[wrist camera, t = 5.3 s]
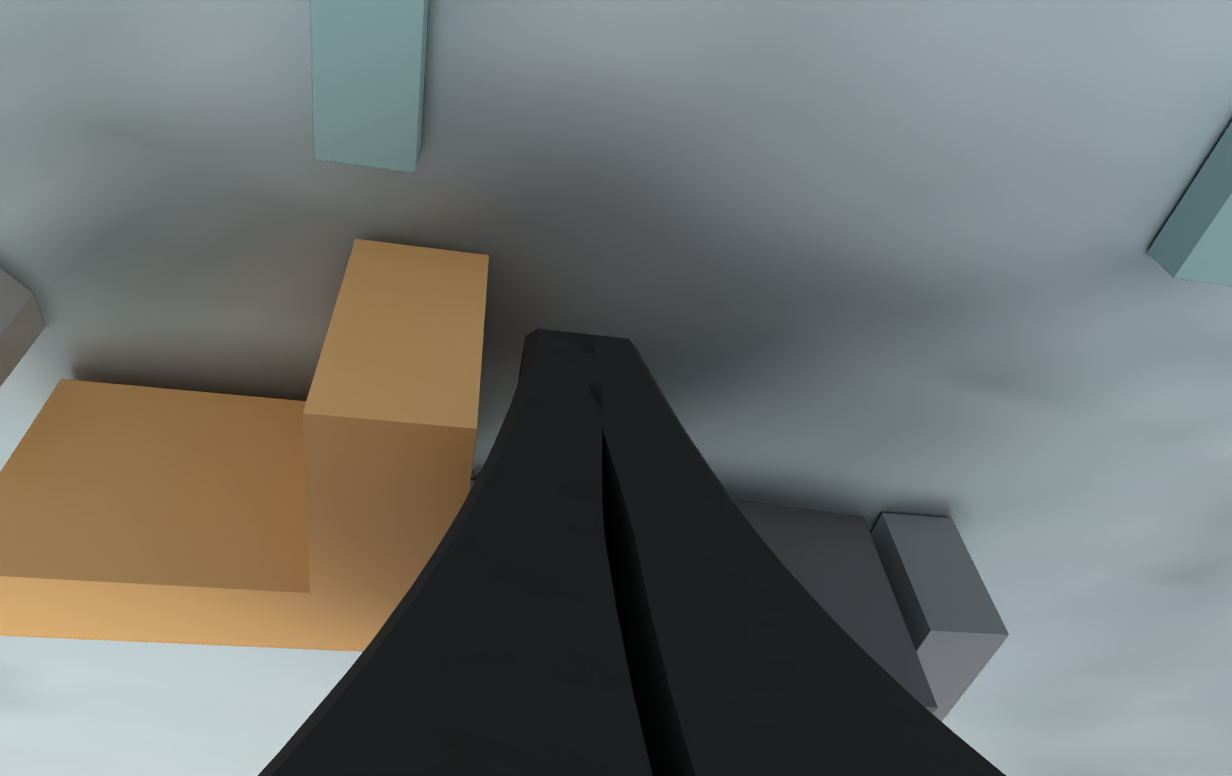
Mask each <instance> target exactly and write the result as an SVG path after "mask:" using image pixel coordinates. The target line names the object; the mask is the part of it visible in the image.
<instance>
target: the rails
mask: <svg viewBox="0 0 1232 776" xmlns="http://www.w3.org/2000/svg"><path fill="white" fill-rule="evenodd" d="M428 6H429V0H310V12H311V52H312V93H313V133H314V159H315V160H323V161H330V162H337V163H344V164H352V165H359V166H366V167H373V168H381V169H388V170H395V171H402V172H410V173H415V171H416V167H417V163H418V158H419V154H420V149H421V133H422V115H423V97H424V78H425V60H426V42H427V24H428ZM1147 253H1148V254H1149V255H1150V256H1151V257H1152V258H1153V259H1154V260H1155V261H1157V262H1158V263H1159V264H1160V265H1161V266H1162V267H1163V268H1164V269H1165V270H1166V271H1167V272H1168V273H1169V274H1170V275H1171V276H1172V277H1173V278H1177V279H1184V280H1191V281H1199V282H1206V283H1213V284H1220V285H1228V286H1232V122H1231V123H1230V125H1229V127H1228V128H1227V130H1226V131H1225V133H1224V134H1223V136H1222V137H1221V139H1220V140H1219V142H1218V144H1217V145H1216V147H1215V148H1214V150H1213V151H1212V153H1211V154H1210V156H1209V157H1208V159H1207V161H1206V162H1205V164H1204V165H1203V167H1202V168H1201V170H1200V171H1199V173H1198V174H1197V176H1196V178H1195V179H1194V181H1193V182H1192V184H1191V185H1190V187H1189V188H1188V190H1187V191H1186V193H1185V195H1184V196H1183V198H1182V199H1181V201H1180V202H1179V204H1178V205H1177V207H1176V209H1175V210H1174V212H1173V213H1172V215H1171V216H1170V218H1169V219H1168V221H1167V222H1166V224H1165V226H1164V227H1163V229H1162V230H1161V232H1160V233H1159V235H1158V236H1157V238H1156V239H1155V241H1154V243H1153V244H1152V246H1151V247H1150V249H1149V250H1148V252H1147Z"/></svg>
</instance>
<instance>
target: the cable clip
mask: <svg viewBox="0 0 1232 776" xmlns="http://www.w3.org/2000/svg"><path fill="white" fill-rule="evenodd" d="M474 482H475V480H471V482H470V490H471V488H472V486H473V484H474ZM470 490H469V492H470ZM871 537H872V539H873V542H874V545H875V547H876V550H877V552H878V555H879V557H880V560H881V563H882V565H883V568H884V570H885V573H886V575H887V578H888V581H889V583H890V586H891V588H892V591H893V593H894V596H895V599H896V601H897V604H898V606H899V609H900V611H901V614H902V616H903V619H904V622H905V624H906V627H907V629H908V632H909V634H910V637H911V640H912V642H913V645H914V647H915V650H916V652H917V655H918V658H919V660H920V663H921V665H922V668H923V670H924V673H925V676H926V678H927V681H928V683H929V686H930V688H931V691H932V694H933V696H934V699H935V701H936V704H937V706H938V708H937V709H936V710H935V712H934V713H933V715H934V716H935V717H937V718H938V719H939V720H940V721H941V722H942V721H943V719H944V718H945V717H946V715H947V714H948V713H949V712H950V710H951V709H952V708H953V706H954V705H955V704H956V702H957V701H958V700H959V699H960V697H961V696H962V695H963V693H964V692H965V691H966V690H967V688H968V687H969V686H970V684H971V683H972V682H973V680H974V679H975V678H976V677H977V675H978V674H979V673H980V671H981V670H982V669H983V668H984V666H985V665H986V664H987V662H988V661H989V660H990V659H991V657H992V656H993V655H994V653H995V652H996V651H997V649H998V648H999V647H1000V646H1001V644H1002V643H1003V642H1004V640H1005V639H1006V638H1007V637H1008V635H1009V634H1008V632H1007V630H1006V628H1005V626H1004V624H1003V622H1002V620H1001V618H1000V616H999V614H998V612H997V610H996V608H995V606H994V604H993V602H992V600H991V597H990V595H989V593H988V591H987V589H986V587H985V585H984V583H983V581H982V579H981V577H980V575H979V573H978V571H977V569H976V567H975V565H974V563H973V561H972V559H971V557H970V555H969V553H968V551H967V549H966V547H965V545H964V543H963V540H962V538H961V536H960V534H959V532H958V530H957V528H956V526H955V524H954V522H953V520H952V518H944V517H931V516H918V515H906V514H893V513H882V514H881V516H880V517H879V519H878V521H877V523H876V525H875V527H874V528H873V530H872V532H871Z"/></svg>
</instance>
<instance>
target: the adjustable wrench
mask: <svg viewBox="0 0 1232 776" xmlns="http://www.w3.org/2000/svg"><path fill="white" fill-rule="evenodd" d="M44 328H45V323H44V320H43V318H42V315H41V312H40V309H39V307H38V304H37V301H36V298H35V296H34V293H33V292H31V291H30V290H29V289H27V288H26V287H25V286H24V285H22V284H21V283H20V282H18V281H17V280H16V279H14V278H13V277H12V276H11V275H9V274H8V273H7V272H5V271H4V270H3V269H1V268H0V387H1V385H2V384H3V383H4V381H5V380H6V379H7V377H8V376H9V375H10V373H11V372H12V371H13V369H14V368H15V367H16V365H17V364H18V363H19V361H20V360H21V359H22V357H23V356H24V355H25V353H26V352H27V351H28V349H29V348H30V347H31V345H32V344H33V343H34V341H35V340H36V339H37V337H38V336H39V335H40V333H41V332H42V331H43V329H44Z"/></svg>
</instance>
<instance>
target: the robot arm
mask: <svg viewBox="0 0 1232 776" xmlns="http://www.w3.org/2000/svg"><path fill="white" fill-rule="evenodd" d="M258 776H1006V775H1004V774H1003V773H1002V772H1001V771H1000V770H998V769H997V768H996V767H995V766H994V765H992V764H991V763H990V762H989V761H988V760H986V759H985V758H984V757H983V756H981V755H980V754H979V753H978V752H977V751H975V750H974V749H973V748H972V747H971V746H969V745H968V744H967V743H966V742H965V741H963V740H962V739H961V738H960V737H958V736H957V735H956V734H955V733H954V732H953V731H951V730H950V729H949V728H948V727H947V726H946V725H945V724H943V723H942V722H941V721H940V720H939V719H938V718H937V717H935V716H934V715H933V714H932V713H931V712H930V711H929V710H927V709H926V708H925V707H924V706H923V705H922V704H921V703H920V702H918V701H917V700H916V699H915V698H914V697H913V696H912V695H911V694H910V693H909V692H908V691H907V690H905V689H904V688H903V687H902V686H901V685H900V684H899V683H898V682H897V681H896V680H895V679H894V678H893V677H892V676H891V675H890V674H889V673H888V672H886V671H885V670H884V669H883V668H882V667H881V666H880V665H879V664H878V663H877V662H876V661H875V660H874V659H873V658H872V657H871V656H870V655H869V654H867V653H866V652H865V651H864V650H863V649H862V648H861V647H860V646H859V645H858V644H857V643H856V642H855V641H854V640H853V639H852V638H851V637H850V636H849V635H848V634H847V633H846V632H845V631H844V630H843V629H842V628H841V627H840V626H839V625H838V624H837V623H836V622H835V621H834V620H833V619H832V618H831V617H830V616H829V615H828V613H827V612H826V611H825V610H824V609H823V608H822V607H821V606H820V605H819V604H818V602H817V601H816V600H815V599H814V598H813V597H812V596H811V595H810V594H809V593H808V591H807V590H806V589H805V588H804V587H803V586H802V585H801V584H800V583H799V581H798V580H797V579H796V578H795V577H794V576H793V575H792V574H791V573H790V572H789V570H788V569H787V568H786V567H785V566H784V565H783V563H782V562H781V561H780V560H779V559H778V557H777V556H776V555H775V554H774V552H773V551H772V550H771V549H770V548H769V546H768V545H767V544H766V543H765V541H764V540H763V539H762V538H761V536H760V535H759V534H758V532H757V531H756V530H755V528H754V527H753V526H752V525H751V523H750V522H749V521H748V519H747V518H746V517H745V515H744V514H743V513H742V512H741V510H740V509H739V508H738V506H737V505H736V504H735V502H734V501H733V499H732V498H731V497H730V495H729V494H728V493H727V491H726V490H725V488H724V487H723V486H722V484H721V483H720V481H719V480H718V479H717V477H716V476H715V474H714V473H713V471H712V470H711V468H710V467H709V465H708V464H707V462H706V461H705V459H704V458H703V456H702V455H701V453H700V452H699V450H698V449H697V448H696V446H695V445H694V443H693V442H692V440H691V439H690V437H689V435H688V434H687V432H686V431H685V429H684V428H683V426H682V425H681V423H680V421H679V420H678V418H677V417H676V415H675V413H674V412H673V410H672V408H671V407H670V405H669V403H668V402H667V400H666V399H665V397H664V395H663V393H662V392H661V390H660V388H659V387H658V385H657V383H656V382H655V380H654V378H653V376H652V375H651V373H650V371H649V369H648V368H647V366H646V364H645V362H644V361H643V359H642V357H641V355H640V354H639V352H638V350H637V348H636V347H635V346H634V344H633V343H632V342H631V340H630V339H625V338H616V337H607V336H597V335H588V334H579V333H570V332H561V331H552V330H543V329H536V330H534V331H533V332H531V333H530V334H528V335H526V336H525V341H524V348H523V354H522V361H521V367H520V373H519V380H518V385H517V388H516V391H515V394H514V397H513V399H512V402H511V405H510V408H509V410H508V412H507V415H506V417H505V419H504V422H503V424H502V426H501V429H500V431H499V433H498V436H497V438H496V440H495V443H494V445H493V447H492V450H491V452H490V454H489V456H488V458H487V460H486V462H485V464H484V466H483V467H482V469H481V471H480V473H479V475H478V477H477V479H476V481H475V482H474V484H473V486H472V488H471V490H470V492H469V494H468V496H467V497H466V499H465V501H464V503H463V505H462V507H461V509H460V510H459V512H458V514H457V516H456V517H455V519H454V521H453V522H452V524H451V526H450V527H449V529H448V531H447V532H446V534H445V536H444V537H443V539H442V540H441V542H440V544H439V545H438V547H437V548H436V550H435V552H434V553H433V555H432V556H431V558H430V559H429V561H428V562H427V564H426V565H425V567H424V568H423V570H422V571H421V573H420V574H419V576H418V577H417V579H416V580H415V582H414V583H413V585H412V586H411V588H410V589H409V590H408V592H407V593H406V594H405V596H404V597H403V599H402V600H401V601H400V603H399V604H398V605H397V607H396V608H395V610H394V611H393V612H392V614H391V615H390V617H389V618H388V619H387V621H386V622H385V623H384V625H383V626H382V628H381V629H380V630H379V632H378V633H377V634H376V636H375V637H374V638H373V640H372V641H371V642H370V644H369V645H368V646H367V647H366V649H365V650H364V651H363V653H362V654H361V655H360V657H359V658H358V659H357V660H356V662H355V663H354V664H353V665H352V667H351V668H350V669H349V670H348V672H347V673H346V674H345V675H344V676H343V678H342V679H341V680H340V681H339V682H338V684H337V685H336V686H335V687H334V688H333V689H332V691H331V692H330V693H329V694H328V695H327V696H326V698H325V699H324V700H323V701H322V702H321V704H320V705H319V706H318V707H317V708H316V709H315V711H314V712H313V713H312V714H311V715H310V716H309V718H308V719H307V720H306V721H305V722H304V723H303V725H302V726H301V727H300V728H299V729H298V731H297V732H296V733H295V734H294V735H293V736H292V738H291V739H290V740H289V741H288V742H287V743H286V745H285V746H284V747H283V748H282V749H281V751H280V752H279V753H278V754H277V755H276V756H275V757H274V758H273V759H272V761H271V762H270V763H269V764H268V765H267V766H266V767H265V768H264V769H263V770H262V772H261V773H260V774H259V775H258Z"/></svg>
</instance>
